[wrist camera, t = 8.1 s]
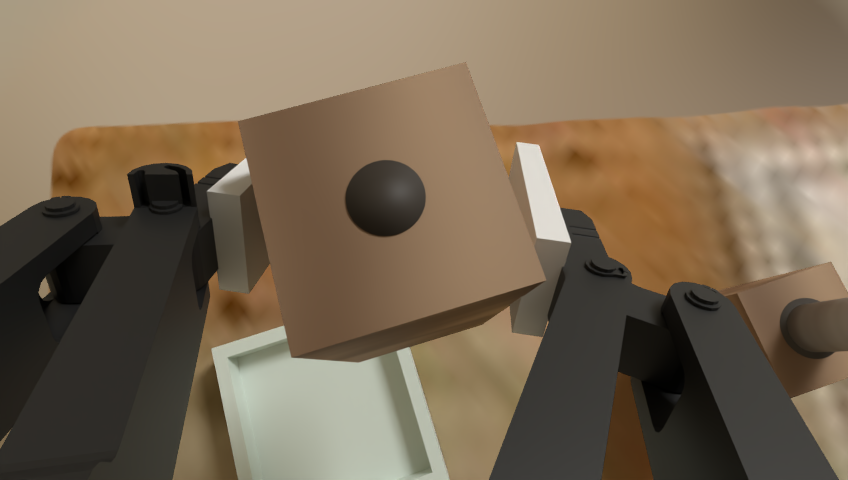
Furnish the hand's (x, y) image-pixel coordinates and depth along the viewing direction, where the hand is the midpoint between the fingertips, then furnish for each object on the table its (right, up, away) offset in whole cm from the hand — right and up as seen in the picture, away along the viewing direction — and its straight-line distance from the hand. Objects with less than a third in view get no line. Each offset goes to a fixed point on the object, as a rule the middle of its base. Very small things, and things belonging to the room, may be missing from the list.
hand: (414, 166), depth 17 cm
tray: (-5, -13, +14) cm, 20 cm away
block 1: (0, -4, +2) cm, 5 cm away
